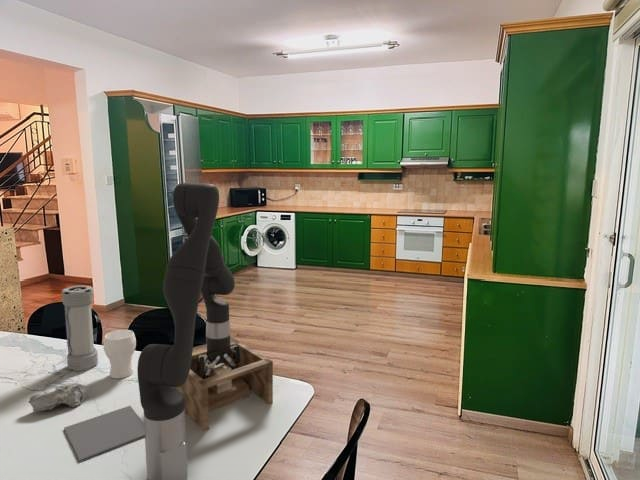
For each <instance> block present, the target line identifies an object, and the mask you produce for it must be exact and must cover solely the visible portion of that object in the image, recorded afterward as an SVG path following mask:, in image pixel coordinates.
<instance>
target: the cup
mask: <svg viewBox="0 0 640 480" xmlns="http://www.w3.org/2000/svg"><path fill="white" fill-rule="evenodd" d="M136 347H137V339H136V335H135V333H134V331H133V330H130V329H118V330H113V331H110V332H108V333H106V334H105V335H104V339H103V351H104V353H105V355H106V357H107V358H108V361H109V363H110V370H109V377H110V378H112V379H118V380H119V379H124V378H127V377H129V376H131V375H132V374H133V373H134V369H133V363H132V359H133V355H134V353H135V350H136Z"/></svg>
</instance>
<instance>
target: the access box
mask: <svg viewBox="0 0 640 480" xmlns="http://www.w3.org/2000/svg"><path fill="white" fill-rule="evenodd" d="M230 341H231V345H230V347H232V346H233V345H234V344H235V345H237V346H238V347H239V351H240V363H237V364H236V365H235V369H233V370H230V371H227V372H224V373H221V374H218V375H215V376H212V377H209V378H206V379H203V375H200V374H199V373H198V372H197V356H198V355H199V354H200V355H205V354H206V353H207V344H206V343H205V344H201V345H198V346H193V351H192V360H191V366H190V371H189V375H188V378H187V380H186V381H185V383H184V384H183V385H182V386H180V387H172V388H174V389H175V390H177V391H179V392H181V393H182V394H183V396H184V399H185V414H186V415H187V416H189V417H190V419H191V420H192V421H194V423H195V424H196V425H198V427H200V428H201V430H202V431H203V432H204V431H207V430H209V429H210V422H209V421H210V420H209V419H210V418H209V417H210V412H212V411H215V410H218V409H220V408H222V407H225V406H228V405H230V404H232V403H233V404H234V403H235V402H239V401H241V400H243V399H246V398H248V396H250V392H251V393H253V394H254V395H255V396H257V397H259V398H260V399H261V400H262V401H264V402H266V404H272V403H273V402H274V401H273V400H274V388H273V387H274V383H273V382H274V380H273V379H274V378H273V377H274V371H273V370H274V369H273V368H274V363H273V360H271V359H269V358H268V357H266V356H264V355H262V354H261V353H259V352H258V351H256V350H255V349H253V348H252V347H251V348H250V347H249V346H247V345H246V344H244V343H242V342H241V341H239V340H237V339H235V338H234V337H232V336H230ZM229 357H230V358H231V359H232V360H233V352H232V351H231V353H230V355H229ZM207 360H208V359H207V358H206V360H205V362H204V367H205V363H206V362H207ZM210 364H212V363H210ZM224 364H226V365H227V366H228V365H229V363H228V362H227V361H225V363H224ZM231 379H232V389H230V390H227V391H224V392H221V393H218V394H217V393H216V392H215V391H214V390H212V389H211V388H210V387H211V386H214V385H216V384H219V383H222V382H225V381H228V380H231Z"/></svg>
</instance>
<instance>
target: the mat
mask: <svg viewBox="0 0 640 480" xmlns="http://www.w3.org/2000/svg"><path fill="white" fill-rule="evenodd" d="M63 430H64V432H65V434H66V436H67V438H68V440H69V442H70V445H71V446H72V448H73V451H74V453H75V455H76V457H77V459H78V461H79V463H80V462H83V461H86V460H88V459H91V458H93V457H96V456H99V455H102V454H104V453H107V452H109V451H112V450H115V449H117V448H120V447H122V446H125V445H127V444H129V443H132V442H135V441H137V440H140V439H143V438H145V427H144V420H142V419H141V417H140V416H139V414H137V412H136V411H135V410H134V408H133V407H132V406H131V405H128V406H127V405H126V406H124V407H120V408H119V409H115V410H112V411H109V412H107V413H104V414H101V415H97V416H95V417H92V418H91V417H90V418H89V419H85V420H83V421H79V422H77V423H74V424H71V425H67V426H65V427H64V428H63Z"/></svg>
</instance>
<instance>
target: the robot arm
mask: <svg viewBox="0 0 640 480" xmlns="http://www.w3.org/2000/svg"><path fill="white" fill-rule="evenodd" d="M219 192H220V191H219V189H218V187H217V186H216V185H214V184H212V183H205V182H203V183H202V182H180V183H178V184H177V185H175V188H174V189H173V191H172V204H173V208H174V211H175V213H176V216H177V218H178V220H179V222H180V223H181V226H182V228H183V229H184V231H185V233H186V234H187V238H186V239H185V240H184V241H183V243H182V244H181V245H179V247H178V248H177V249H176V250H175V251H174V253H173V254H172V255H171V256H170V257H169V259H168V261H167V265H166V270H165V274H164V279H163V284H162V292H163V296H164V299H165V301H166V303H167V307H168V308H169V310H170V311H169V312H170V314H171V315H172V319H173V324H174V340H173V344H161V343H151V344H150V343H149V344H147V345H146V346H145V347H143V349H142V350H141V352H140V354H139V356H138V359H137V361H138V362H137V371H136V372H137V382H138V383H137V384H138V391H139V400H140V405H141V408H142V410H143V423H144V427H145V437H144V443H145V465H146V466H145V467H146V479H147V480H188V458H187V457H188V456H187V455H188V454H187V453H188V451H187V428H186V425H187V424H186V412H185V399H184V396H183V394H182V393H181V392H179V391H177V390H175V389H174V388H172V387H180V386H182V385H183V384H184V383H185V381H186V380H187V378H188V375H189V371H190V366H191V360H192V351H193V347H194V339H195V329H196V328H195V327H196V319H197V313H198V309H199V308H198V307H199V302H200V298H201V295H202V298H203V301H204V305H205V310H206V324H205V325H206V326H205V341H206V343H205V344H207V353H206V354H205V355H200V354H199V355H198V356H197V372H198V373H199V374H200V375H203V379H206V378H209V377H210V375H209V373H210V371H211V370H212V369H213V368H214V366H215V365H219V364H221V363H225V361H227V362H228V363H229V365H228V366H229V367H230V368H231V370H233V369H235V365H236V364H237V363H240V351H239V347H238V346H237V345H235V344H234V345H233V346H232V347H230V345H231V341H230V337H231V323H230V305H229V303H228V302H227V301H226V300H222V299H220V298H218V297H217V296H216V295H218V296H229V295H231V294H232V293H233V291H234V289H235V286H236V285H235V284H236V283H235V277H234V275H233V274H232V272H231V270H230V269H229V267H228V266H227V264H226V263H225V261H224V259H223V258H224V257H223V254H222V250H221V247H220V245H219V243H218V241H217V240H216V239H215V237H214V236H213V235H212V234H213V230H214V227H215V226H214V225H215V222H216V219H217V215H218V209H219V206H220V205H219V204H220V193H219ZM231 351H232V352H233V360H232V359H231V358H230V357H229V355H230V353H231ZM206 358H207V359H208V360H207V362H206V363H205V367H204V362H205V360H206ZM210 363H212V364H211V365H210Z"/></svg>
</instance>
